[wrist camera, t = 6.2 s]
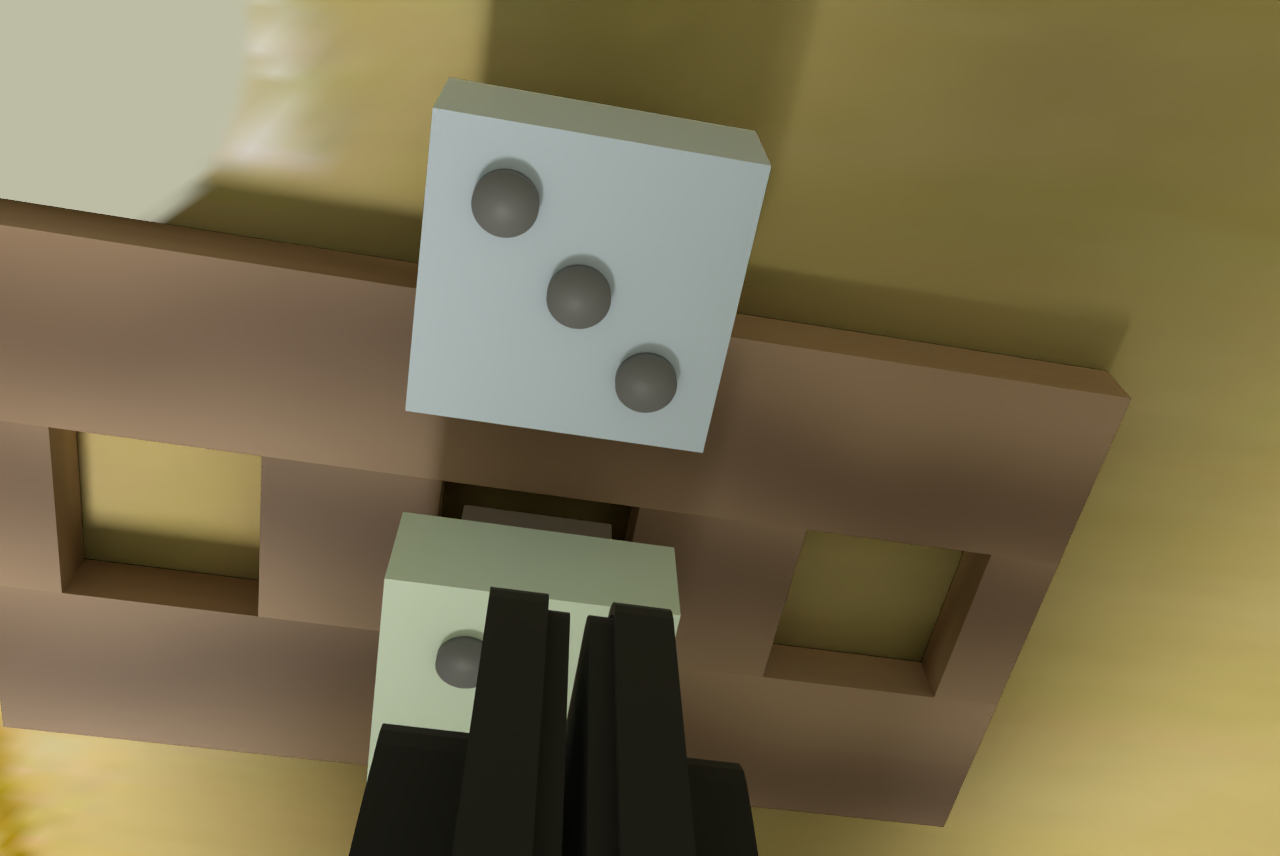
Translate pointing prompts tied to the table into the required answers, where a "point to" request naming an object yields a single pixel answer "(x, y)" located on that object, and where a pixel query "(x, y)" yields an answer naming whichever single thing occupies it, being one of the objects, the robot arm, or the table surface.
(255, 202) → the table surface
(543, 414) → the tile three
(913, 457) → the tile board
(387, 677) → the tile two
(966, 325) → the table surface
